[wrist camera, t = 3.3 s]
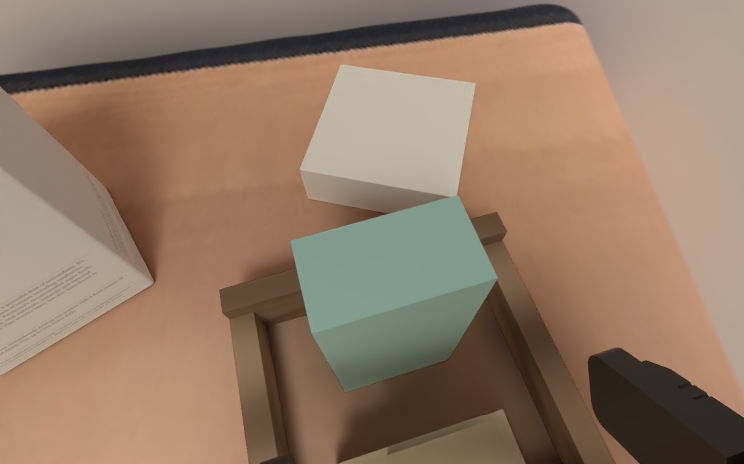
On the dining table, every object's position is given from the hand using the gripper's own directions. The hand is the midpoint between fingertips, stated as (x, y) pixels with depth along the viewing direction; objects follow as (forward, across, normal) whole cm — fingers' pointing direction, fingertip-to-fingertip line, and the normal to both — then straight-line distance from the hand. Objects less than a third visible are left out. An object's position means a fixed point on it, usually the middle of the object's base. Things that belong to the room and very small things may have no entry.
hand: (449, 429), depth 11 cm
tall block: (+11, 0, +4) cm, 12 cm away
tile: (+19, -4, -5) cm, 20 cm away
